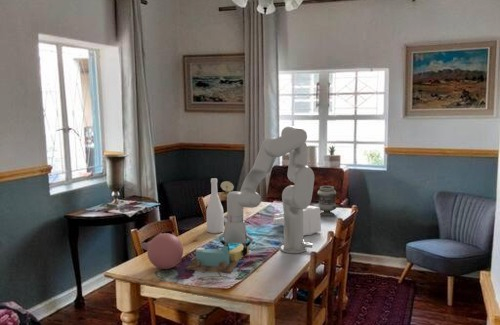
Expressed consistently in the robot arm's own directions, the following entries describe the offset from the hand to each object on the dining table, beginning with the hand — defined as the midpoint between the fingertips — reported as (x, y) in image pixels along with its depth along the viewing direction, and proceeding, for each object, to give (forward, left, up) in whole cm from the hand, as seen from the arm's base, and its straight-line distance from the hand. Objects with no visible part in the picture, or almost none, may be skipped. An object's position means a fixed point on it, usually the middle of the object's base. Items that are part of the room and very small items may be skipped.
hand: (235, 254), depth 210 cm
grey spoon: (+19, -58, -1) cm, 61 cm away
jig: (+7, +14, -1) cm, 16 cm away
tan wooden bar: (-1, 0, -1) cm, 2 cm away
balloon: (+29, +19, -1) cm, 35 cm away
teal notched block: (+7, +14, 0) cm, 15 cm away
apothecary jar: (-37, -86, -1) cm, 94 cm away
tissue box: (-22, -49, -1) cm, 54 cm away
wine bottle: (+22, -38, -1) cm, 44 cm away
